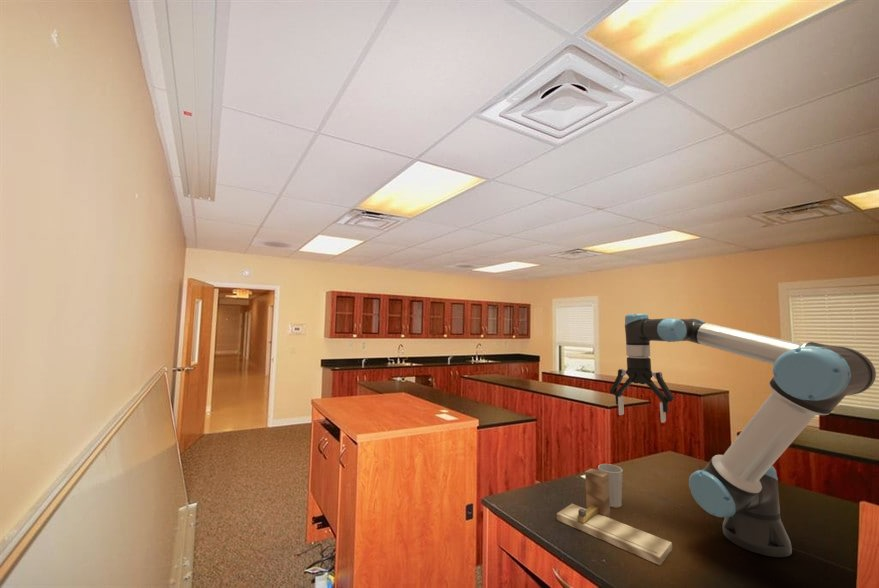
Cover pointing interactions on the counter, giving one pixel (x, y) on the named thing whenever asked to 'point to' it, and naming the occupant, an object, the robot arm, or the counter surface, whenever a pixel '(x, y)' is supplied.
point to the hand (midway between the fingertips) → (641, 418)
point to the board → (619, 534)
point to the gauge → (595, 495)
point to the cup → (613, 483)
